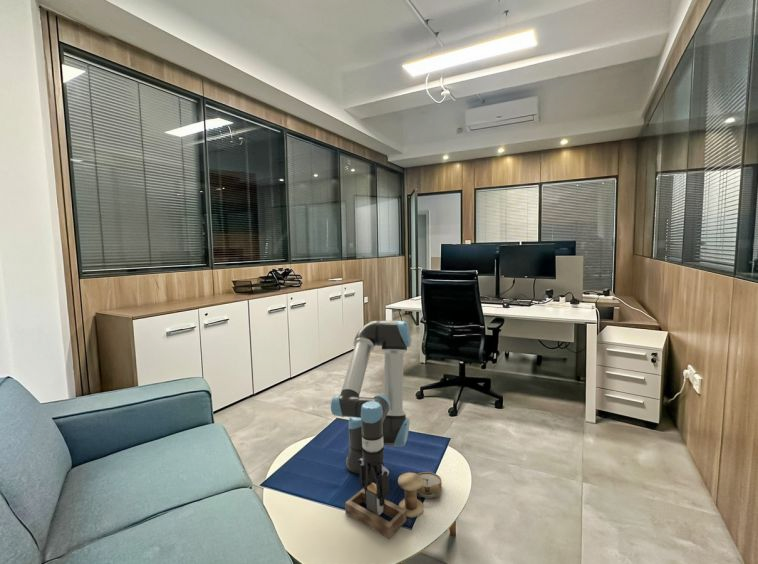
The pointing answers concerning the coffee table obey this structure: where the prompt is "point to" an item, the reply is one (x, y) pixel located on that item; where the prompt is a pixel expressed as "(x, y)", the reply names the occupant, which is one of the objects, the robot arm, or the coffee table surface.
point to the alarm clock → (429, 485)
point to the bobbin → (411, 494)
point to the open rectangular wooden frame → (374, 520)
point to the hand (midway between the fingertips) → (375, 510)
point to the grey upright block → (372, 498)
